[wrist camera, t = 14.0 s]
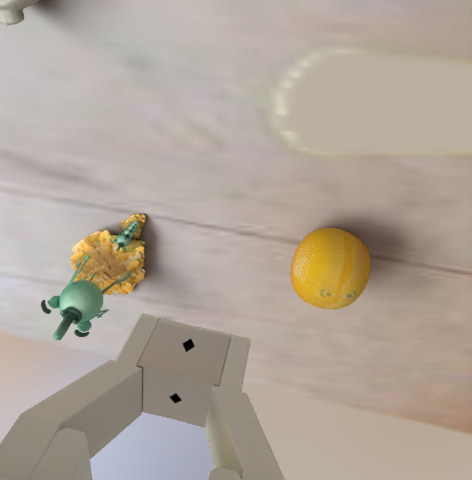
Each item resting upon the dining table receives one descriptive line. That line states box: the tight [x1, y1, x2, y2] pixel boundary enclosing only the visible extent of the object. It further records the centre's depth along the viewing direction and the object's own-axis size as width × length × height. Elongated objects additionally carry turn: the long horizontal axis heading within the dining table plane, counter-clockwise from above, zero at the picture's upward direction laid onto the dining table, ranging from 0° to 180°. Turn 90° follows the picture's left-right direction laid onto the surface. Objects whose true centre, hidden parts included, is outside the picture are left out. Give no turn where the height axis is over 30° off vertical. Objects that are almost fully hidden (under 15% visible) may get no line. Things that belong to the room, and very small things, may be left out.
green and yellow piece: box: [41, 214, 146, 340], centre depth 47 cm, size 10×18×15 cm, turn 130°
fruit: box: [291, 228, 370, 309], centre depth 41 cm, size 9×8×8 cm
